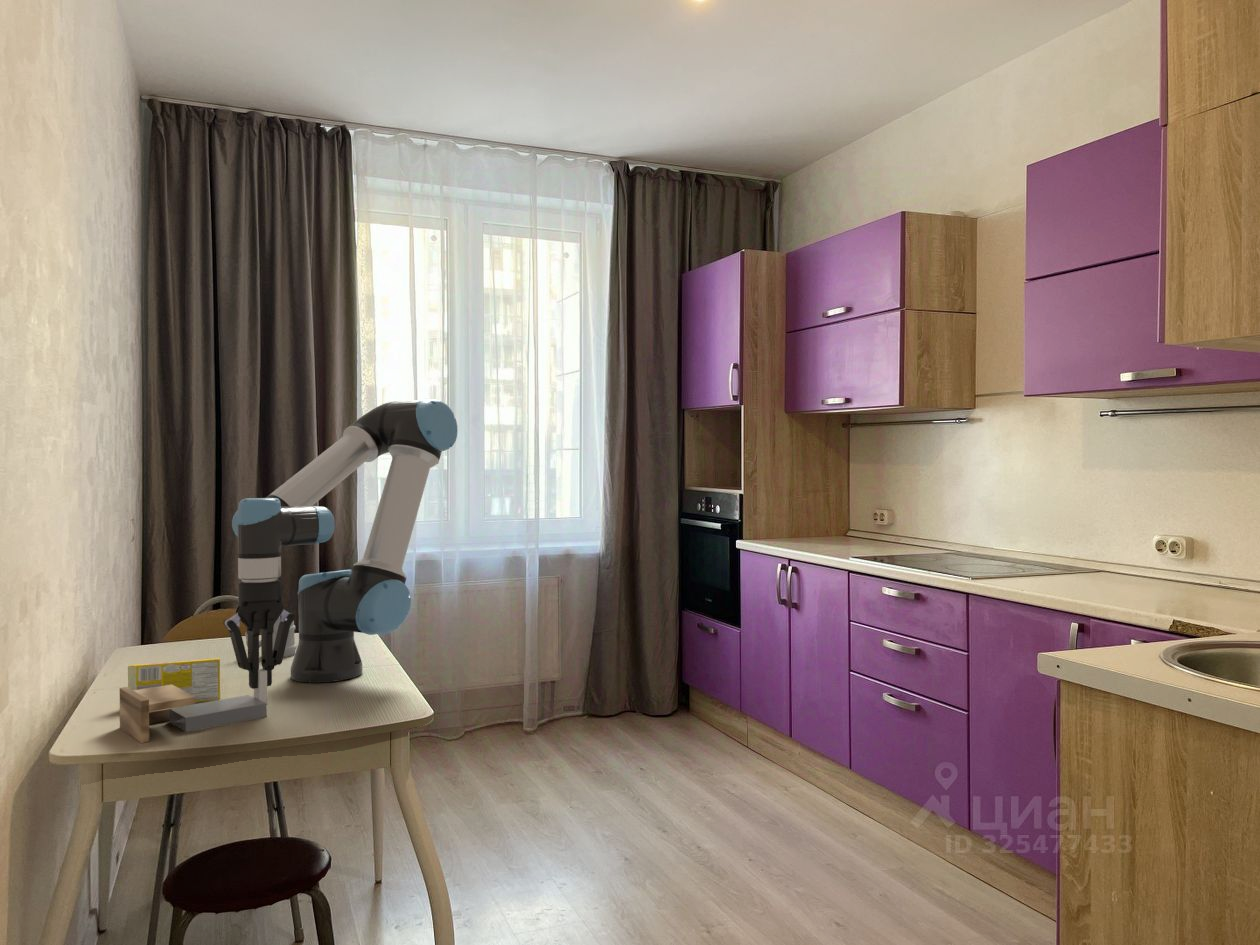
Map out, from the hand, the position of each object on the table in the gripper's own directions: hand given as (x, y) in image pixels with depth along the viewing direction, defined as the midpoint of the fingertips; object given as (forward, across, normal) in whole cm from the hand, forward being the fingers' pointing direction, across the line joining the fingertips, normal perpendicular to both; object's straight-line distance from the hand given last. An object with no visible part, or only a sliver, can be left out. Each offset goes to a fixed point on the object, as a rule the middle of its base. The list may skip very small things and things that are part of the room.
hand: (260, 704), depth 170 cm
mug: (+1, -22, -51) cm, 56 cm away
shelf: (+1, +18, 0) cm, 18 cm away
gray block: (+2, +8, 0) cm, 8 cm away
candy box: (+2, +10, -18) cm, 21 cm away
